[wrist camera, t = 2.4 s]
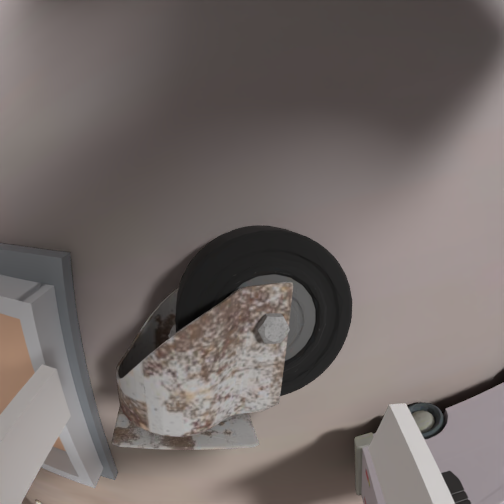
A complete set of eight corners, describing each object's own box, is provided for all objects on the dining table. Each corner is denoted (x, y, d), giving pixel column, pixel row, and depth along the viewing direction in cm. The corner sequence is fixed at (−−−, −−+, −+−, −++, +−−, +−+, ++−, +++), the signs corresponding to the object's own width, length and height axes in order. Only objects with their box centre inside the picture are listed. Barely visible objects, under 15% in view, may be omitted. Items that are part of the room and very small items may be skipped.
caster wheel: (324, 226, 19) (304, 378, 20) (123, 215, 16) (128, 381, 18) (390, 242, 12) (348, 441, 14) (87, 227, 10) (112, 454, 11)
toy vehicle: (524, 404, 21) (589, 498, 7) (351, 475, 23) (379, 616, 8) (547, 332, 18) (644, 429, 4) (348, 412, 20) (396, 607, 6)
